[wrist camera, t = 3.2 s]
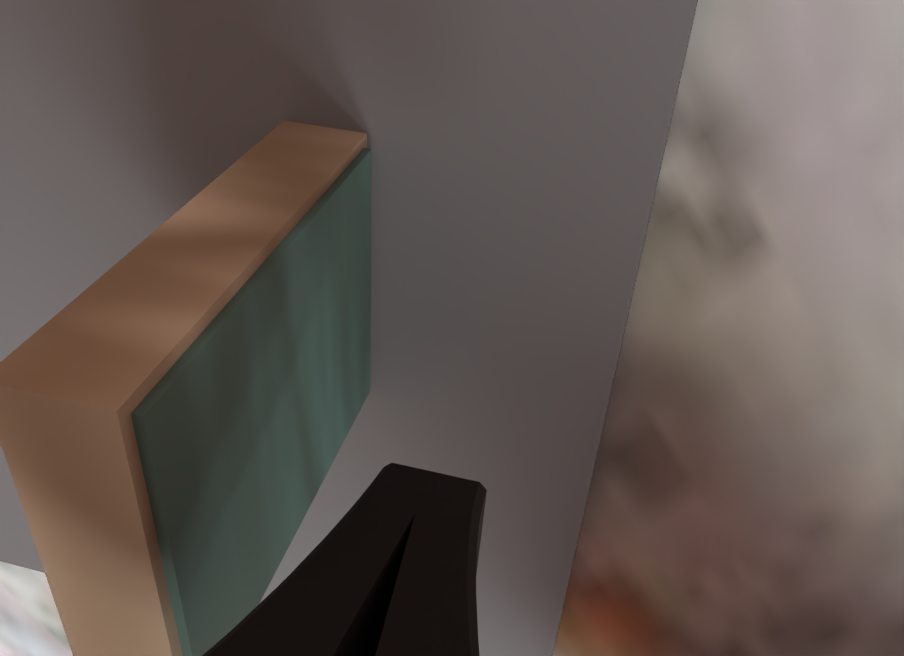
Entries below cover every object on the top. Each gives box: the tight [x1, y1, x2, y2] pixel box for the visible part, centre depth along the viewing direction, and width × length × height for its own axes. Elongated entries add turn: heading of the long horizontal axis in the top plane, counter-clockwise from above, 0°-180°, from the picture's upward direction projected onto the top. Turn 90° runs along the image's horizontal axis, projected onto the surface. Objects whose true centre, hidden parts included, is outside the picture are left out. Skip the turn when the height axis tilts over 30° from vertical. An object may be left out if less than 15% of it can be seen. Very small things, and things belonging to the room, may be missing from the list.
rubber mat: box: [0, 0, 698, 656], centre depth 18 cm, size 18×22×1 cm
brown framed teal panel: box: [0, 121, 372, 656], centre depth 13 cm, size 2×6×8 cm, turn 177°
